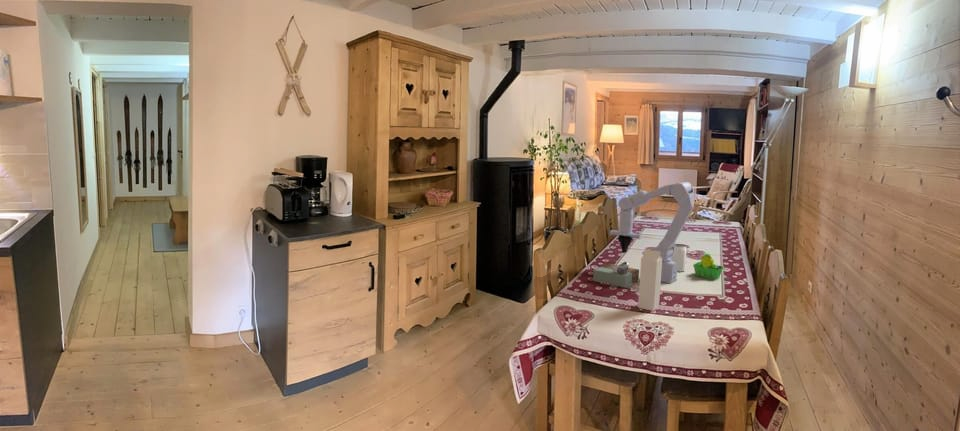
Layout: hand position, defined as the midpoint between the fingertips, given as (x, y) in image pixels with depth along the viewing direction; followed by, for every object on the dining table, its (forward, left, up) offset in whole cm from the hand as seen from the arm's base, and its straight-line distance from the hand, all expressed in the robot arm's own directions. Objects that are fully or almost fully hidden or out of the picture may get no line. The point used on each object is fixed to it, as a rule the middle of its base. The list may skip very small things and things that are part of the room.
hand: (624, 252), depth 254 cm
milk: (-28, +39, -10) cm, 49 cm away
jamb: (-4, +12, -9) cm, 15 cm away
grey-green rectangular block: (-4, +19, -9) cm, 21 cm away
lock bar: (-6, +16, -4) cm, 18 cm away
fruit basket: (-32, -18, -10) cm, 38 cm away
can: (-18, -20, -10) cm, 29 cm away
